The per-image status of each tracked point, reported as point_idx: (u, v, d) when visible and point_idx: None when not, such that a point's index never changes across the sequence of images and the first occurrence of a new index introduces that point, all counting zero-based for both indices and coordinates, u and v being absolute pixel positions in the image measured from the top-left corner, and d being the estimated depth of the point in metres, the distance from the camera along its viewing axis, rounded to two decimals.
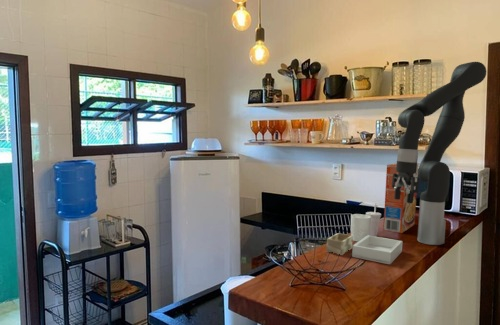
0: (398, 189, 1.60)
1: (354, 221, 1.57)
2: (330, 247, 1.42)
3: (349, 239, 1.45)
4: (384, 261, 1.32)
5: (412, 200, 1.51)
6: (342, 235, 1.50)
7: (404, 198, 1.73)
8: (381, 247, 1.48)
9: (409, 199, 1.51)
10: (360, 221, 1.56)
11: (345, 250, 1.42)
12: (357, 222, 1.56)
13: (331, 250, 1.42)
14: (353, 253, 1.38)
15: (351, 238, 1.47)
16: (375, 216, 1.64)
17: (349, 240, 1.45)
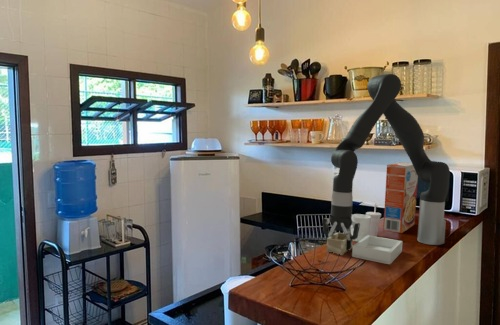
0: None
1: (354, 221, 1.57)
2: (330, 246, 1.42)
3: None
4: (384, 261, 1.32)
5: None
6: (342, 234, 1.50)
7: (404, 198, 1.73)
8: (381, 247, 1.48)
9: None
10: (360, 221, 1.56)
11: (345, 249, 1.42)
12: (357, 222, 1.56)
13: (331, 249, 1.42)
14: (353, 253, 1.38)
15: None
16: (375, 216, 1.64)
17: None
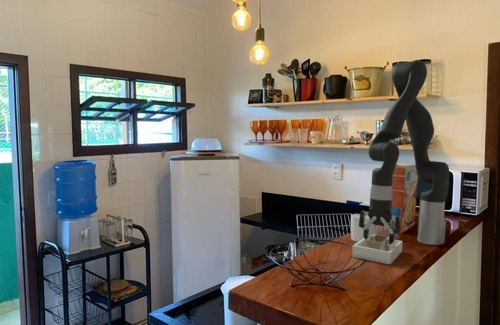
0: (390, 232, 1.39)
1: (354, 221, 1.57)
2: None
3: (388, 240, 1.41)
4: (384, 261, 1.32)
5: (363, 236, 1.44)
6: (379, 236, 1.46)
7: (404, 198, 1.73)
8: None
9: None
10: None
11: None
12: (357, 222, 1.56)
13: None
14: (353, 253, 1.38)
15: None
16: None
17: (388, 241, 1.42)
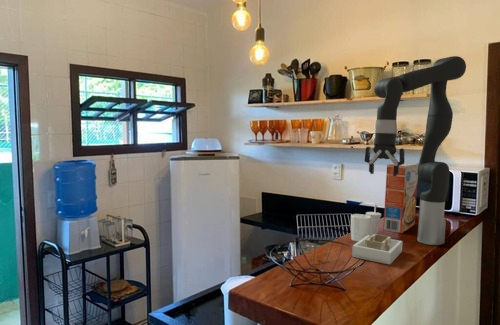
0: None
1: (354, 221, 1.57)
2: None
3: (388, 240, 1.41)
4: (384, 261, 1.32)
5: (369, 170, 1.51)
6: (379, 236, 1.46)
7: (404, 198, 1.73)
8: None
9: None
10: (360, 221, 1.56)
11: None
12: (357, 222, 1.56)
13: None
14: (353, 253, 1.38)
15: (389, 239, 1.43)
16: (375, 216, 1.64)
17: (388, 241, 1.42)
